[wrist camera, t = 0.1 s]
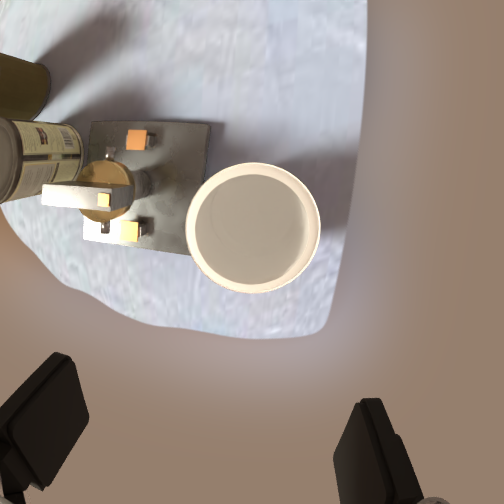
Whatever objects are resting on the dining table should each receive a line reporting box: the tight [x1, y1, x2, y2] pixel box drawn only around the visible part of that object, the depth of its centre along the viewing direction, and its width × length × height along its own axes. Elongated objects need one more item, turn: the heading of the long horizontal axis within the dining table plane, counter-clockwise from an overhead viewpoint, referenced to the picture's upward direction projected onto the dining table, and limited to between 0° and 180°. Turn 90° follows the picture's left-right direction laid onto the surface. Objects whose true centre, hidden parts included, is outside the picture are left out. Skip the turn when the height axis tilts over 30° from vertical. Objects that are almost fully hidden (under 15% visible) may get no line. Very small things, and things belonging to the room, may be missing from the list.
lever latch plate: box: [84, 121, 211, 256], centre depth 34 cm, size 16×16×9 cm
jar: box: [185, 163, 320, 293], centre depth 31 cm, size 11×10×15 cm
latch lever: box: [42, 146, 136, 234], centre depth 26 cm, size 9×8×7 cm
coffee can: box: [0, 117, 84, 204], centre depth 31 cm, size 10×10×14 cm
